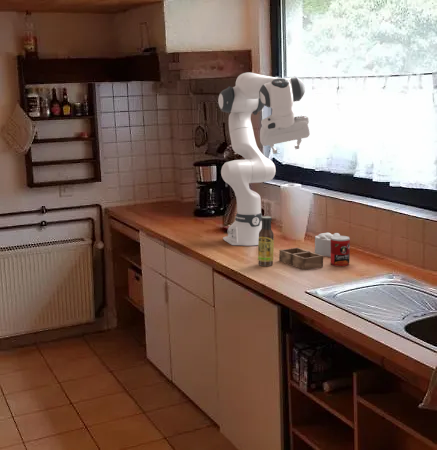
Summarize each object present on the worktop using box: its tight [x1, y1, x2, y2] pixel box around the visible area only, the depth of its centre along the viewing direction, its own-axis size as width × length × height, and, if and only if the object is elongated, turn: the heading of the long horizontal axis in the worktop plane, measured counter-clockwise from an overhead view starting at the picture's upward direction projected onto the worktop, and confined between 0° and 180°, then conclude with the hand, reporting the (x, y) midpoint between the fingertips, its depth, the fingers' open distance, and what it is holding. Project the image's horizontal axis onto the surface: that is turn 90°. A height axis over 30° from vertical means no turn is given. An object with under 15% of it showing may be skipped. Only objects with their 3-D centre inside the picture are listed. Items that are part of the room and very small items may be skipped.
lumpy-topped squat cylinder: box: [314, 232, 341, 258], centre depth 309 cm, size 10×13×9 cm
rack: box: [278, 247, 324, 271], centre depth 293 cm, size 18×9×4 cm, turn 28°
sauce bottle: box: [257, 215, 275, 267], centre depth 291 cm, size 6×6×20 cm
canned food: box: [330, 235, 351, 267], centre depth 290 cm, size 8×8×11 cm
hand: (286, 150), depth 294 cm, fingers open, 8 cm apart
